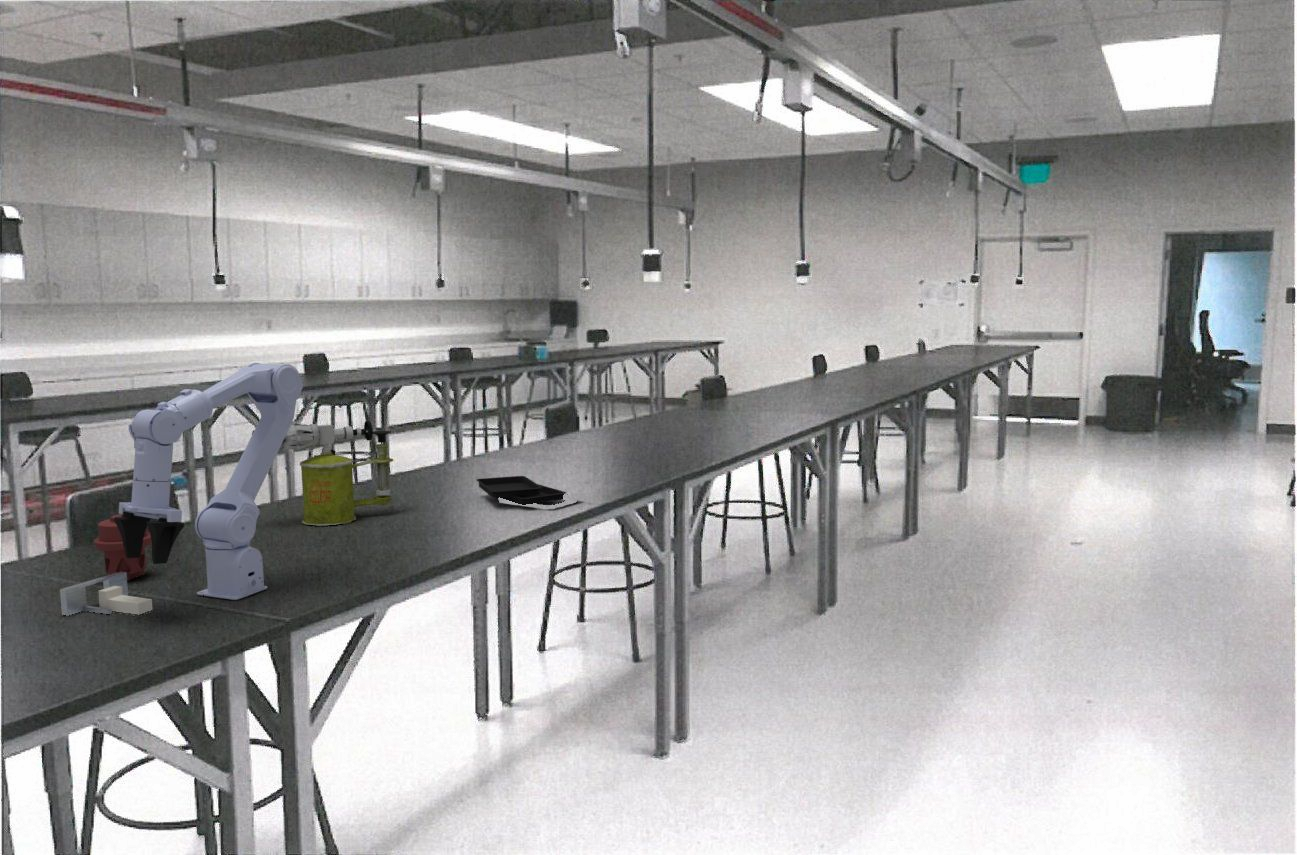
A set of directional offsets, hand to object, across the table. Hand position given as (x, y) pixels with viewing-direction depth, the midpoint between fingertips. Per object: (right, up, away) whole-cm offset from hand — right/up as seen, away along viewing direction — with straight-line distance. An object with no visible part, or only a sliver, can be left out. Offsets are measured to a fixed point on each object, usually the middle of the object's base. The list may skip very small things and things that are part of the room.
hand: (146, 560), depth 166 cm
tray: (+51, +2, +95) cm, 108 cm away
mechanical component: (-16, -7, +25) cm, 30 cm away
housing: (-10, -9, +6) cm, 15 cm away
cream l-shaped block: (-6, -9, +5) cm, 12 cm away
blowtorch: (+7, -1, +74) cm, 75 cm away
